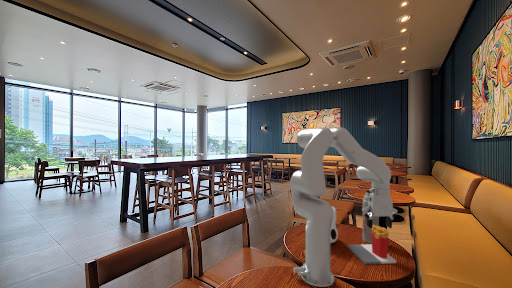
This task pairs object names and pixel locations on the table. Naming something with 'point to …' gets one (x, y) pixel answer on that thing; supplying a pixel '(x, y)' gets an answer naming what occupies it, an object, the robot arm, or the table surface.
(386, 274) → the table surface
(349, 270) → the table surface
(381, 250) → the french fries
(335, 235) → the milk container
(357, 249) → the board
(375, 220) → the thermos bottle
